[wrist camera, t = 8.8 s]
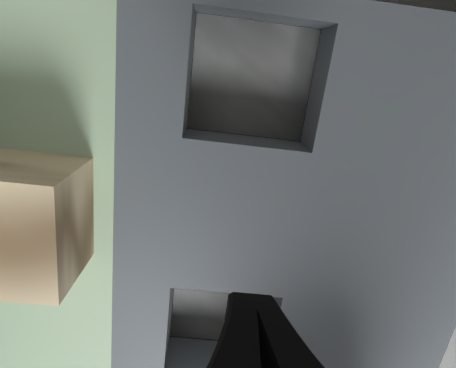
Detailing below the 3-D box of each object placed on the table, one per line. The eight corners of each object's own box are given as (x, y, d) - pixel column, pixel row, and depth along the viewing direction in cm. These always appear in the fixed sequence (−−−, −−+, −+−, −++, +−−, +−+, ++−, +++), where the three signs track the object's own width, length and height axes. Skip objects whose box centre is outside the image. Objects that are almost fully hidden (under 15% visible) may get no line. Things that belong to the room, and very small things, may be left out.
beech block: (93, 253, 17) (58, 305, 14) (-10, 244, 17) (-75, 295, 13) (93, 157, 16) (53, 186, 12) (-21, 145, 16) (-98, 171, 12)
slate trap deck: (404, 366, 24) (457, 452, 18) (-14, 335, 22) (-87, 419, 17) (525, 34, 17) (662, 20, 12) (-63, -49, 15) (-210, -108, 10)
